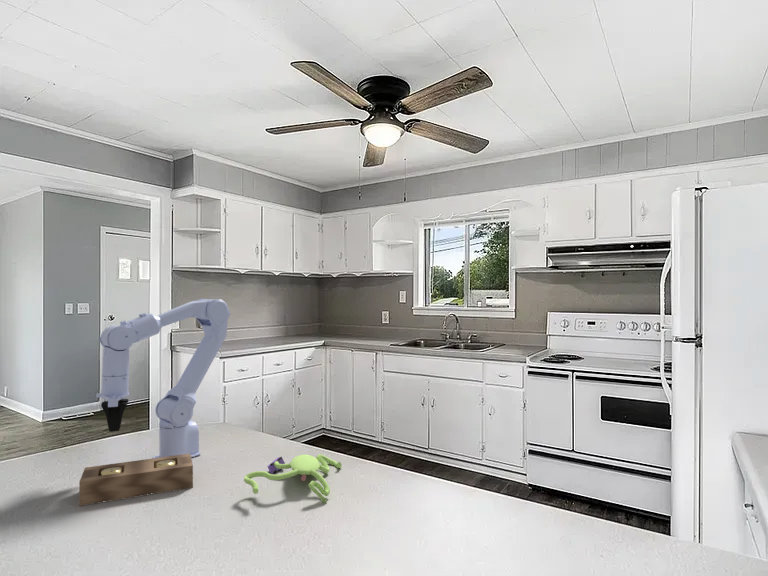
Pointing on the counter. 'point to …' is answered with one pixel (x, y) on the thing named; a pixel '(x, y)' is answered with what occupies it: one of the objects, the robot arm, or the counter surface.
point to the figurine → (298, 472)
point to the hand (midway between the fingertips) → (114, 430)
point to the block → (135, 479)
